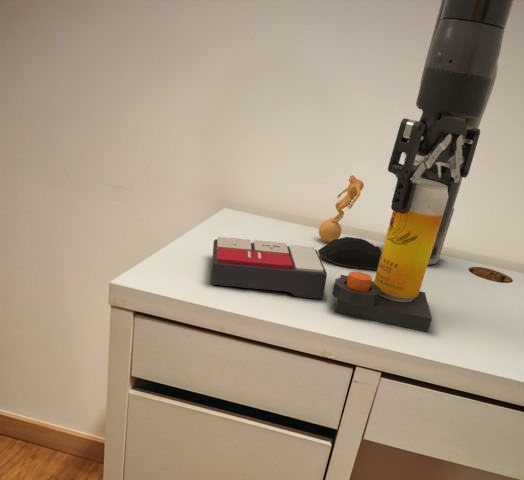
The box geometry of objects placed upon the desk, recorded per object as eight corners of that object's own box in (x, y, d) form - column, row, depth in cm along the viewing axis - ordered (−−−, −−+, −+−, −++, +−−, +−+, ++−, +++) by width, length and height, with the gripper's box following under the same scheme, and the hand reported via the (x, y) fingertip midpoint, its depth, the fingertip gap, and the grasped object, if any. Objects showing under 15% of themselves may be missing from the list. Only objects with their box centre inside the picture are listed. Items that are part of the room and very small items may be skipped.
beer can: (367, 283, 81) (396, 173, 74) (408, 289, 82) (440, 181, 75) (378, 300, 76) (410, 183, 69) (422, 306, 76) (458, 191, 70)
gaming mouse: (410, 276, 94) (417, 252, 92) (321, 264, 92) (326, 239, 90) (398, 263, 100) (405, 240, 98) (314, 251, 97) (319, 228, 96)
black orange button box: (332, 285, 84) (338, 262, 82) (421, 304, 83) (428, 281, 81) (328, 314, 74) (334, 288, 72) (428, 335, 73) (437, 310, 71)
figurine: (312, 233, 108) (326, 167, 102) (343, 237, 109) (359, 172, 103) (321, 247, 100) (337, 176, 95) (354, 252, 101) (372, 182, 96)
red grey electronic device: (214, 233, 84) (317, 243, 85) (212, 262, 86) (312, 271, 87) (212, 257, 74) (328, 268, 76) (210, 289, 76) (323, 299, 78)
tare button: (346, 282, 76) (349, 269, 75) (369, 286, 76) (372, 274, 75) (345, 289, 74) (348, 276, 73) (369, 294, 73) (372, 281, 73)
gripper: (454, 66, 59) (410, 222, 67) (518, 81, 69) (473, 217, 76) (395, 57, 64) (360, 204, 71) (462, 72, 73) (425, 201, 81)
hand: (418, 210), depth 74 cm, fingers open, 8 cm apart
